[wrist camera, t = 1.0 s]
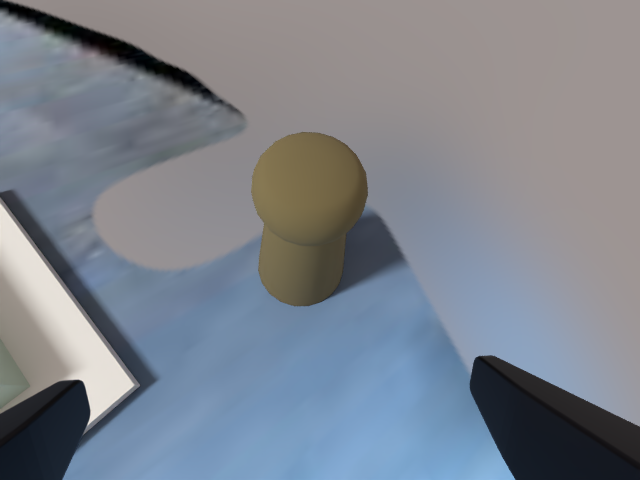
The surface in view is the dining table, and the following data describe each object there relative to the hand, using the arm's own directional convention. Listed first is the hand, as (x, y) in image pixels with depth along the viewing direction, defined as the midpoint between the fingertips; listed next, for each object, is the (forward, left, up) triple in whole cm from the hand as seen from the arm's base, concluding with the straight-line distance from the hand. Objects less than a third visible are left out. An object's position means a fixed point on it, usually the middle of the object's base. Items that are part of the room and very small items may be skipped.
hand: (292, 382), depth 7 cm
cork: (+5, -6, -13) cm, 16 cm away
